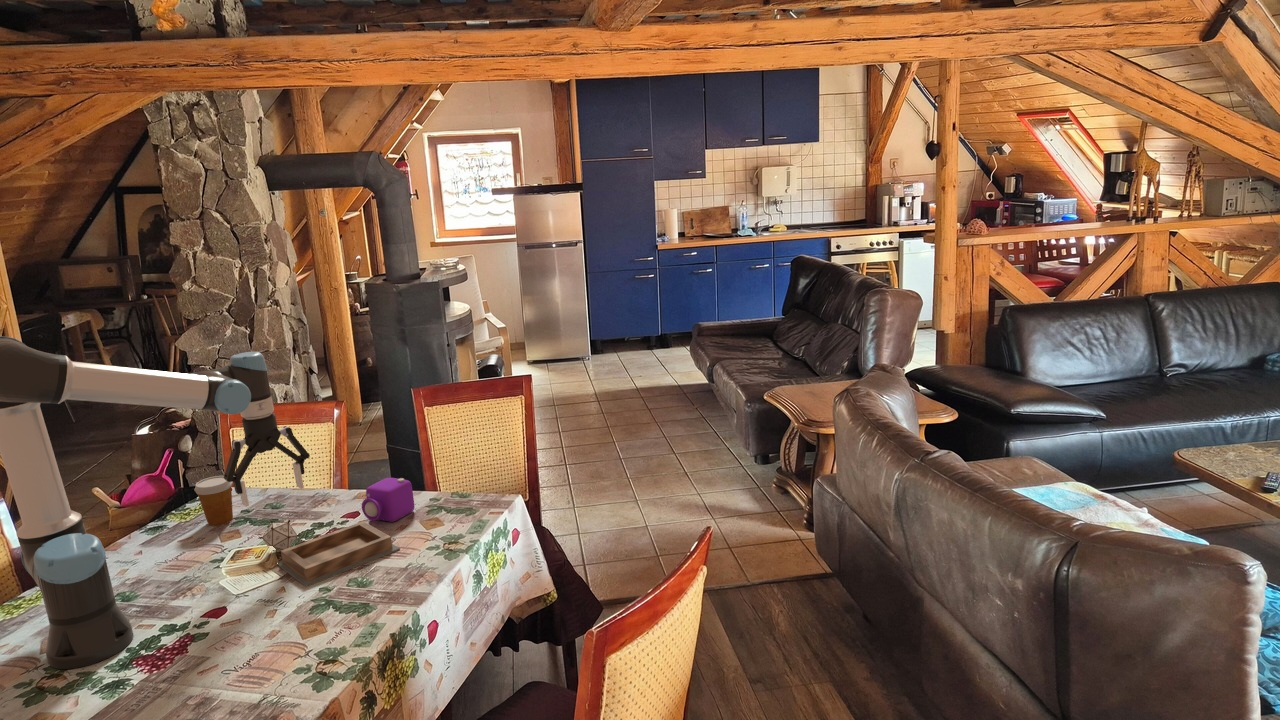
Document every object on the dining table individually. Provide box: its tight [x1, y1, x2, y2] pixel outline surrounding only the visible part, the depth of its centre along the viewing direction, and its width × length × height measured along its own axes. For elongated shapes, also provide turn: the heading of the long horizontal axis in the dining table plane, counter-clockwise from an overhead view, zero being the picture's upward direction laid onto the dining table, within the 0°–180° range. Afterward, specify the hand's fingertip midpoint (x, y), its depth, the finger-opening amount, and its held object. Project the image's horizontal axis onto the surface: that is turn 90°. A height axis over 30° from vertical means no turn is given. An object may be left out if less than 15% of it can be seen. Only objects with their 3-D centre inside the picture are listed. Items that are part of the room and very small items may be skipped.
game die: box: [258, 519, 302, 552], centre depth 214 cm, size 9×8×10 cm
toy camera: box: [361, 477, 416, 523], centre depth 230 cm, size 11×14×10 cm
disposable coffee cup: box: [194, 475, 234, 527], centre depth 235 cm, size 10×10×12 cm
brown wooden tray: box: [280, 521, 393, 581], centre depth 209 cm, size 22×15×4 cm
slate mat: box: [277, 543, 401, 587], centre depth 209 cm, size 24×18×1 cm
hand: (273, 496), depth 211 cm, fingers open, 13 cm apart
